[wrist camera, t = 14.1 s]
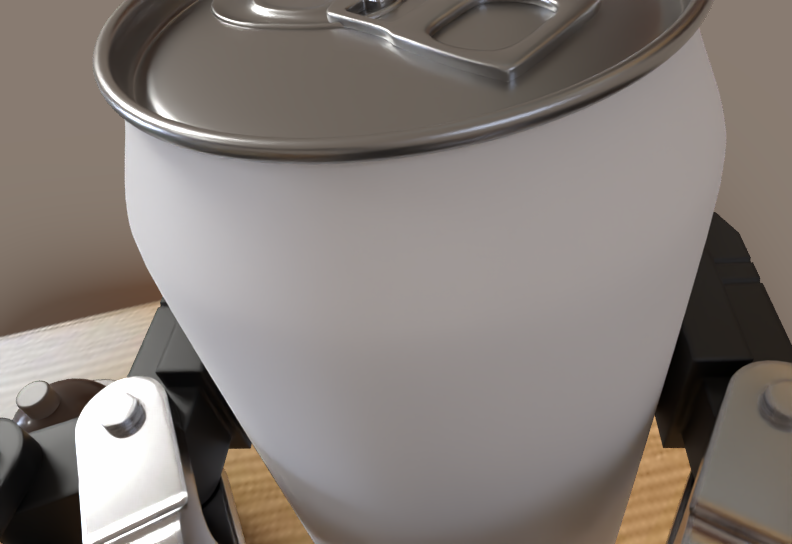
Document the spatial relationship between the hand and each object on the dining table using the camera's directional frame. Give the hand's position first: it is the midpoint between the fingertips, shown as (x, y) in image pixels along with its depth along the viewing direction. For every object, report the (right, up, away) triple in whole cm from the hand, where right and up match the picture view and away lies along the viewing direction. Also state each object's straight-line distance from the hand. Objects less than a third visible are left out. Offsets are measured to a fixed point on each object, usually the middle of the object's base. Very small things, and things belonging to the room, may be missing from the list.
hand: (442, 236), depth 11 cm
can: (+1, -6, +3) cm, 7 cm away
